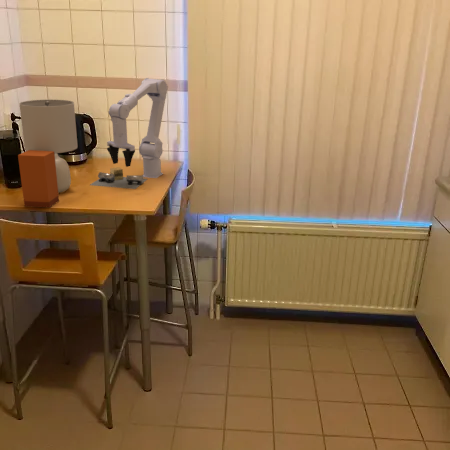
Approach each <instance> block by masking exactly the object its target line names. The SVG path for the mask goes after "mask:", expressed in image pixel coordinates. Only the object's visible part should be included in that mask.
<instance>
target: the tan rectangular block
mask: <svg viewBox="0 0 450 450" xmlns="http://www.w3.org/2000/svg"><path fill="white" fill-rule="evenodd" d="M109 169H110V172H109V174H114V176H115V180H121V179H123V177H124V173H123V172H124V171H123V170H124V169H123V168H121V167H110V168H109Z"/></svg>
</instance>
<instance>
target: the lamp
mask: <svg viewBox="0 0 450 450" xmlns="http://www.w3.org/2000/svg"><path fill="white" fill-rule="evenodd" d="M19 111H20V112H19V113H20V119H21V128H22V135H23V136H22V137H23V138H22V139H23V145H24V150H25V152H26V151H28V150H38V151H54V154H55V165H56V175H57V185H58V194H60V193H63V192H65V191H67V190H68V189H70V186H71V183H72V178H71V170H70V167H69V164H68V163H67V161H66V160H65V159H64V158H62V157H60V156H59V154H62V153H67V152H72V151H75V150H77V149H78V138H77V136H78V135H77V124H76V113H75V111H76V110H75V102H74V101H71V100H67V99H65V100H64V99H34V100H33V99H32V100H25V101H20V102H19Z"/></svg>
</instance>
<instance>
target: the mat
mask: <svg viewBox="0 0 450 450" xmlns="http://www.w3.org/2000/svg"><path fill="white" fill-rule="evenodd" d="M126 177H127V176H123V179H121V180H115V181H114V182H111V183H106V181H107V180H106V181H103V182H99V179H100V178H98V179H97V180H95V181H93V182H92V183H90V184H89V186H92V187H93V186H94V187H95V186H96V187H107V188H120V189H130V190H136V189H137V188H138V187H140V186H141V185H137V183H138V182H133V183H132V185H128V182H127V179H126ZM147 180H148V178H143V182H142V184H144V183H145V182H146V181H147Z"/></svg>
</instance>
